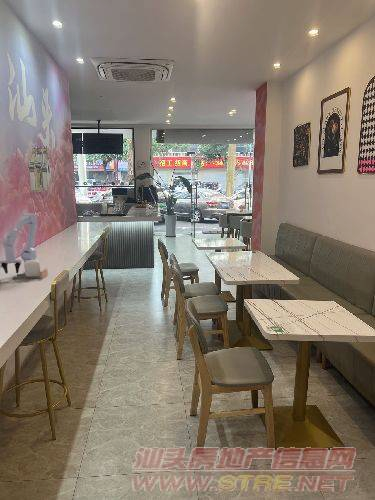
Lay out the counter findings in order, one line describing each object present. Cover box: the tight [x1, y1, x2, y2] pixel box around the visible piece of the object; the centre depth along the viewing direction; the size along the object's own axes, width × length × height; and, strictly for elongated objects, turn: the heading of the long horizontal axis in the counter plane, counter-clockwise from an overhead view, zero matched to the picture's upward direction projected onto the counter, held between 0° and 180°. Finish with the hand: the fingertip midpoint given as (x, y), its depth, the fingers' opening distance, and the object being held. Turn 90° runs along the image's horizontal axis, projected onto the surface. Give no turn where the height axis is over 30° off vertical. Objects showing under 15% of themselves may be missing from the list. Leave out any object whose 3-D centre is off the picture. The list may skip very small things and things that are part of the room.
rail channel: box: [12, 268, 48, 280], centre depth 278 cm, size 10×22×5 cm, turn 90°
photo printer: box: [23, 259, 41, 277], centre depth 278 cm, size 10×4×12 cm, turn 103°
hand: (12, 273), depth 278 cm, fingers open, 7 cm apart
